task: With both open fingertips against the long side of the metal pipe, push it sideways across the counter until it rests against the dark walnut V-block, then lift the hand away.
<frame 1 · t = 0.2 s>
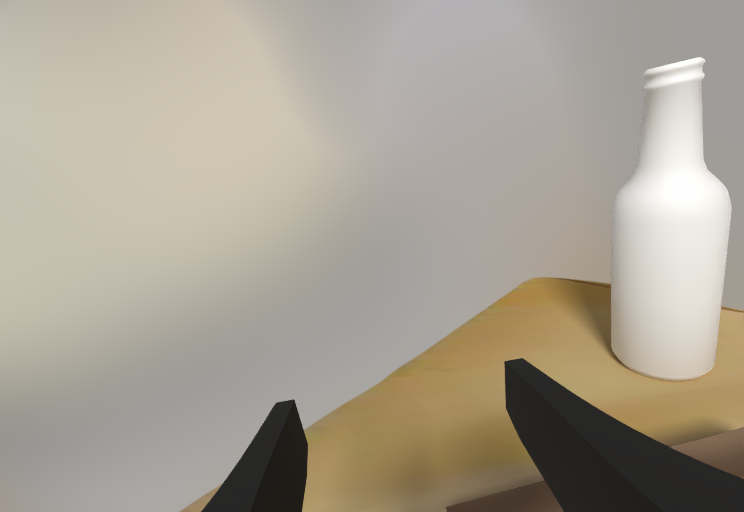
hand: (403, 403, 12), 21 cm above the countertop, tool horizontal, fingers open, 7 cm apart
alcohol: (658, 359, 39), on the countertop
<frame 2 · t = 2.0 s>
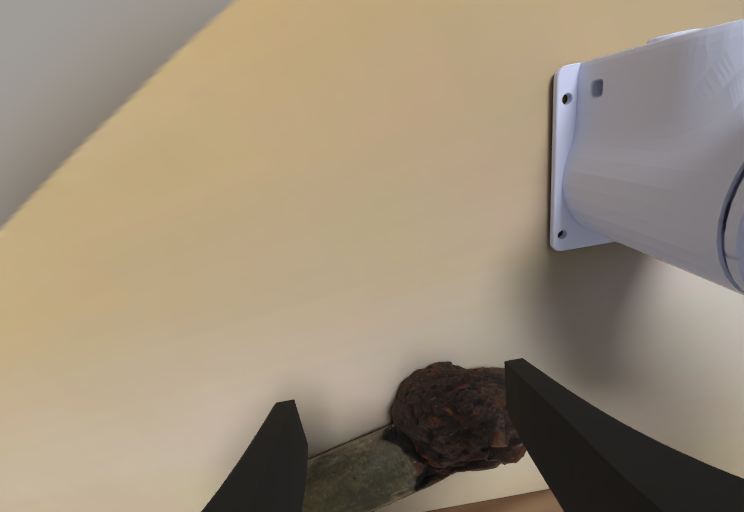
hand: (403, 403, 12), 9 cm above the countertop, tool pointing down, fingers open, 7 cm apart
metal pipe: (404, 410, 24), on the countertop
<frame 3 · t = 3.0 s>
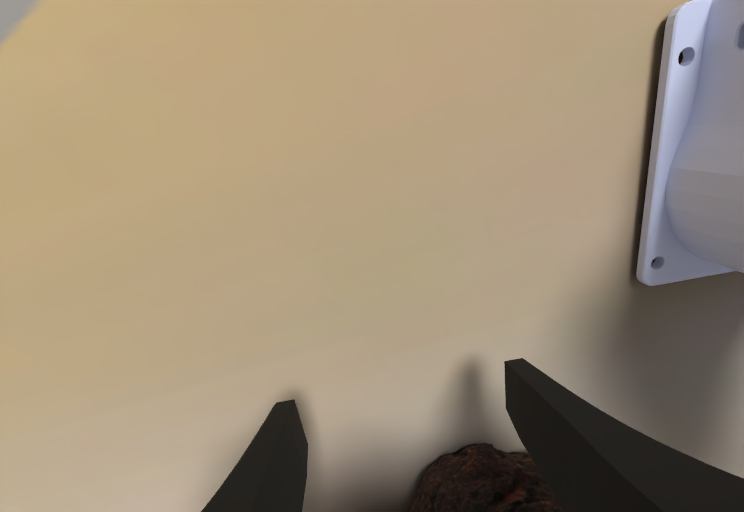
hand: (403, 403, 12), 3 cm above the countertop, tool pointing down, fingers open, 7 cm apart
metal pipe: (425, 498, 18), on the countertop
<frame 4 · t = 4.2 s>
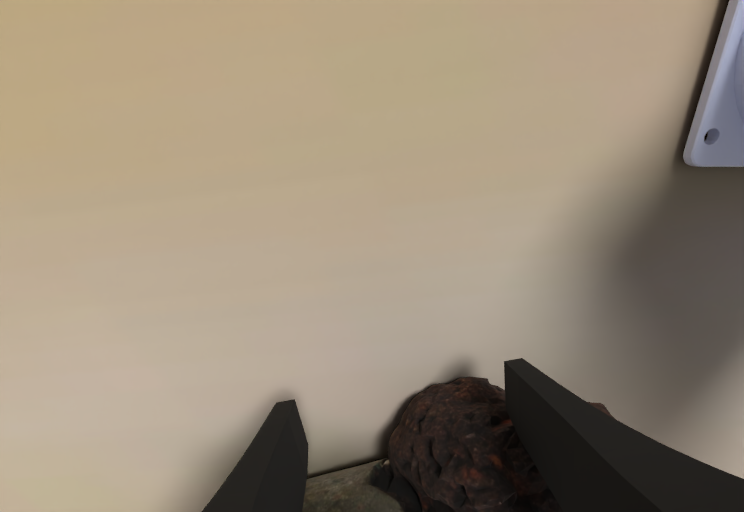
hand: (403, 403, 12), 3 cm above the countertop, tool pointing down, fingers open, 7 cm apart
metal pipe: (402, 438, 17), on the countertop, touching gripper
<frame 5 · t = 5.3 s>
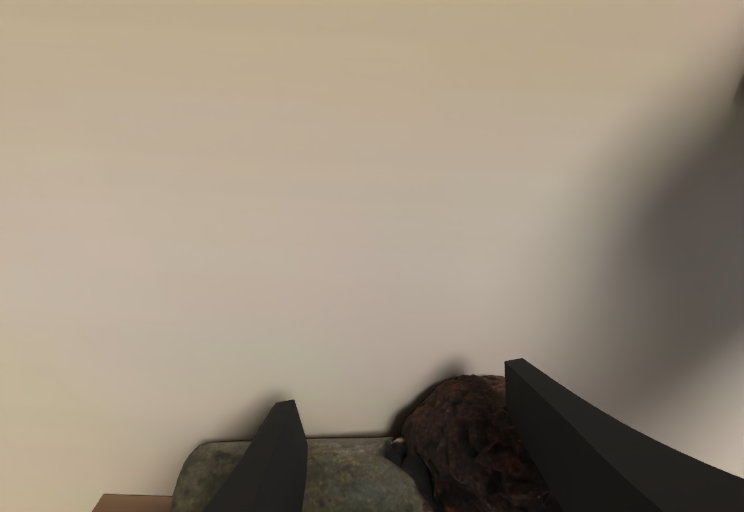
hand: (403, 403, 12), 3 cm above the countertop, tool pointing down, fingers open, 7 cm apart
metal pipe: (407, 422, 16), on the countertop
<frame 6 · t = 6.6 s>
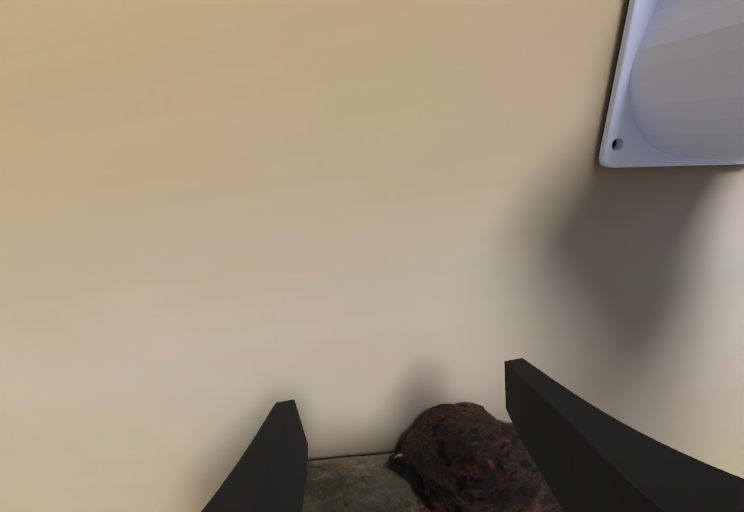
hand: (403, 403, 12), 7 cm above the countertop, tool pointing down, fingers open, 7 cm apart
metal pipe: (406, 440, 22), on the countertop
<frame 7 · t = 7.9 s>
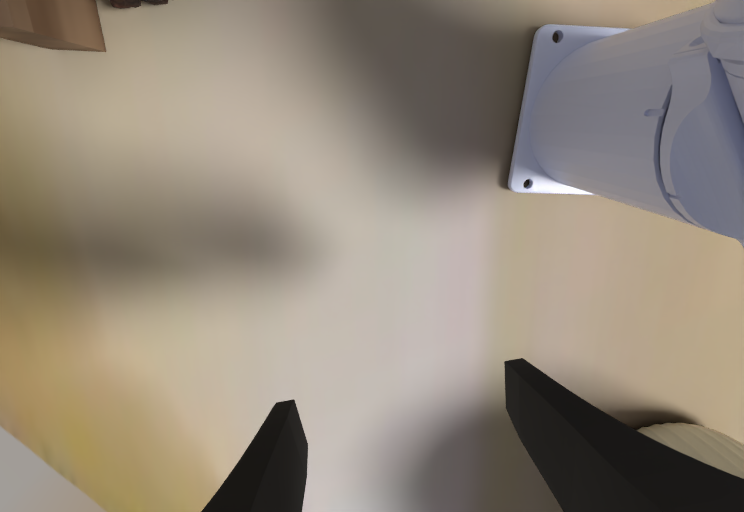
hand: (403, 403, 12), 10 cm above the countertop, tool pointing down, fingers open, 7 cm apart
canister: (640, 467, 29), on the countertop
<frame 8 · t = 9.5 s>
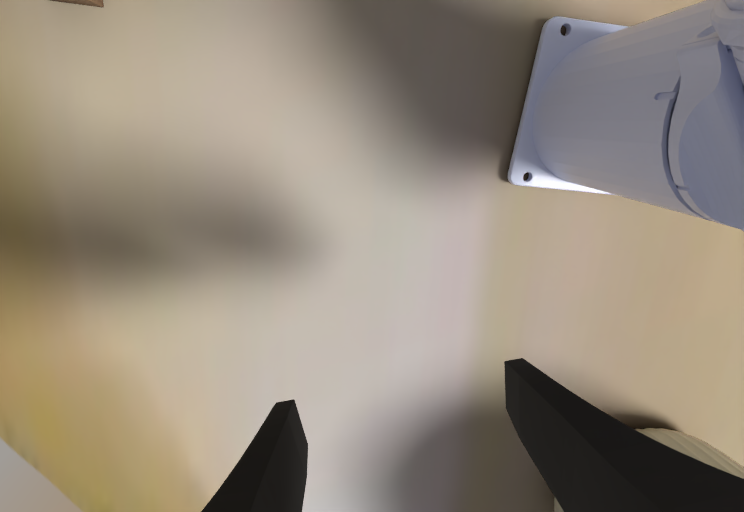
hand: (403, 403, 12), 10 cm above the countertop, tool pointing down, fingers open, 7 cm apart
canister: (619, 473, 29), on the countertop
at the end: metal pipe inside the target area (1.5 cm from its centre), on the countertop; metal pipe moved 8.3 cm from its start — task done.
